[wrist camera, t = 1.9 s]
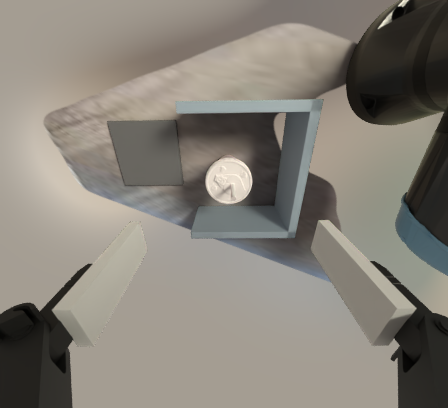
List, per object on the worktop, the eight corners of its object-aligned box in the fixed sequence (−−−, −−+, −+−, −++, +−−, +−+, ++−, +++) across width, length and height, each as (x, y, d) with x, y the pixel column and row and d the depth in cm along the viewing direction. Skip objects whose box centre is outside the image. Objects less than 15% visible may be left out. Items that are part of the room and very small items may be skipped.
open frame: (295, 103, 28) (323, 99, 20) (279, 210, 36) (294, 237, 28) (189, 105, 28) (175, 101, 20) (199, 211, 37) (191, 238, 29)
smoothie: (236, 186, 34) (242, 228, 22) (205, 174, 33) (192, 210, 21) (251, 155, 31) (268, 182, 19) (218, 140, 30) (213, 158, 18)
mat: (175, 120, 29) (174, 120, 28) (183, 183, 34) (183, 184, 33) (109, 121, 29) (107, 121, 29) (126, 184, 34) (125, 185, 34)
